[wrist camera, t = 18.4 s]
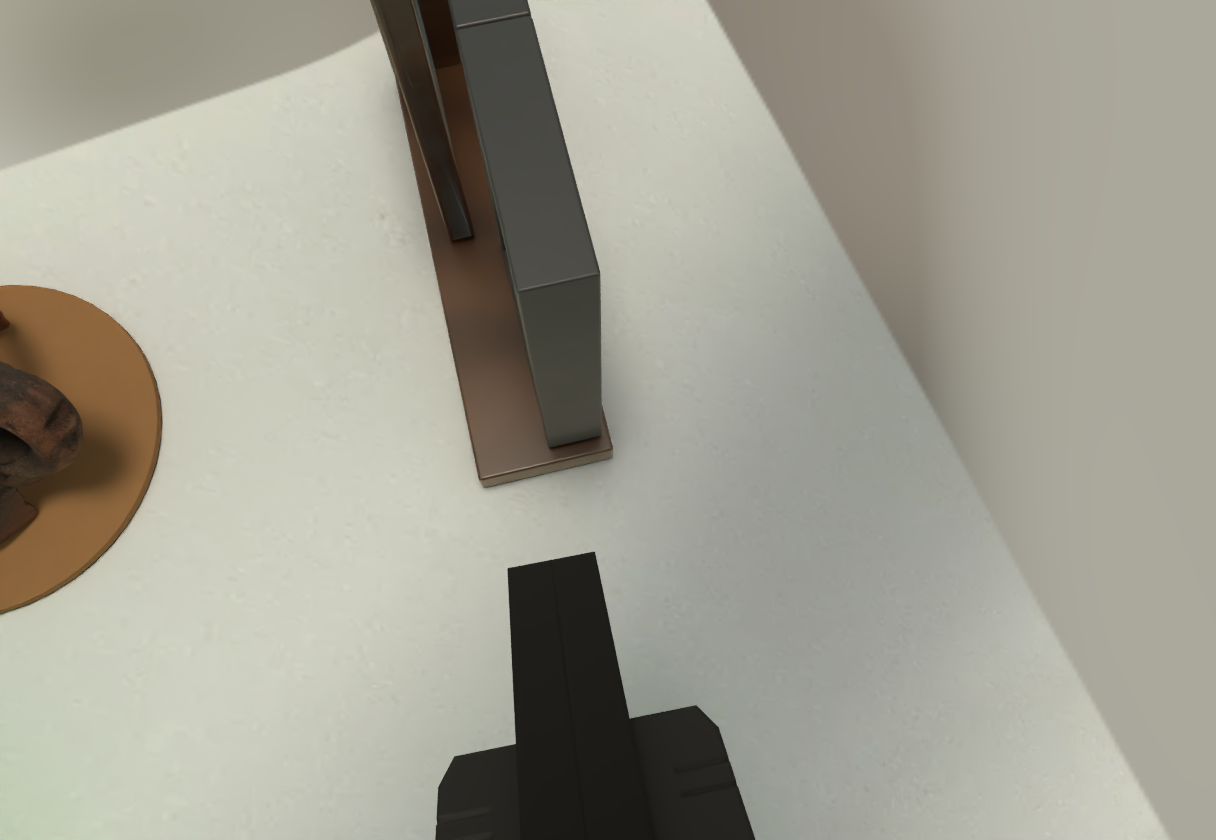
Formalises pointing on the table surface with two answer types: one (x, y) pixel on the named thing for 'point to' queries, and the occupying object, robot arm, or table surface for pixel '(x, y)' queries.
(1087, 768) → the table surface
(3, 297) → the coaster
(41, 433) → the pottery mug
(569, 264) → the window sash
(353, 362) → the table surface
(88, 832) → the table surface
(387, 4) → the brown piece
